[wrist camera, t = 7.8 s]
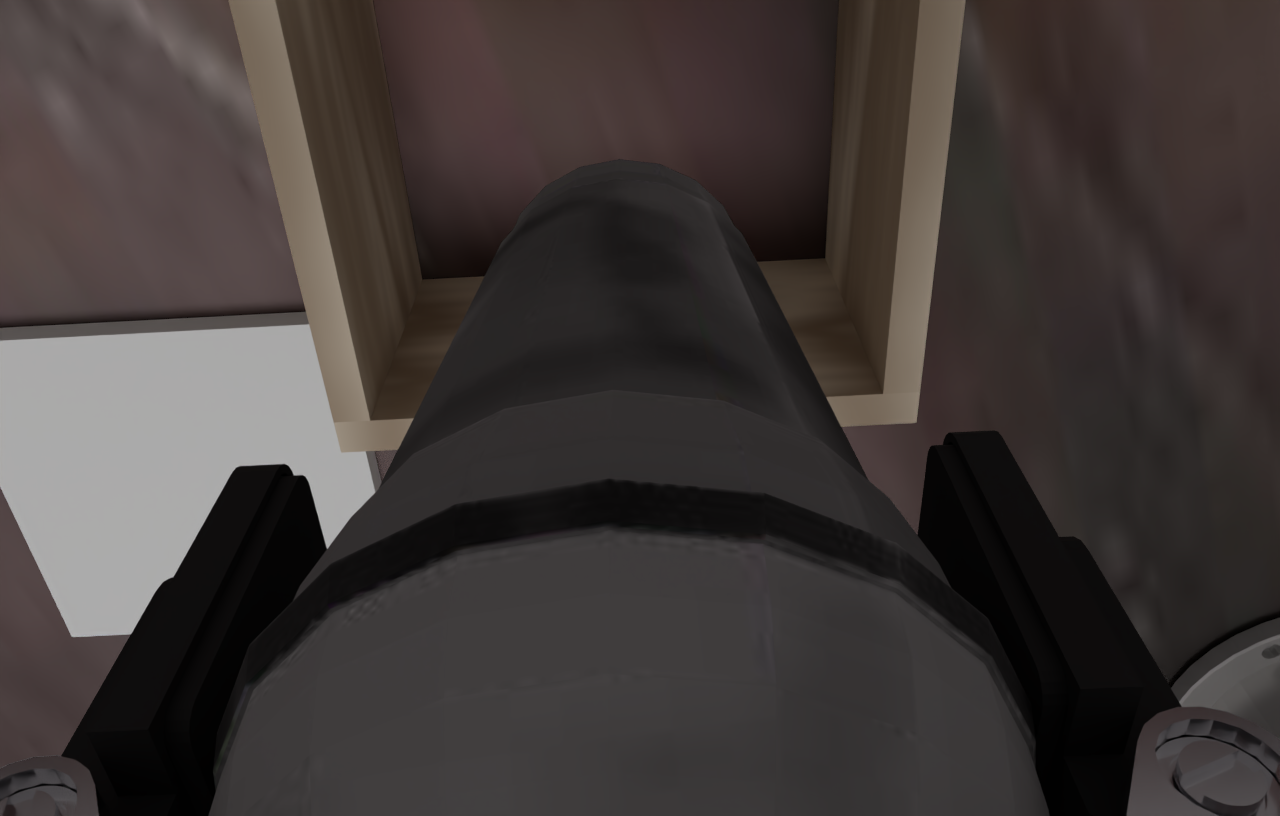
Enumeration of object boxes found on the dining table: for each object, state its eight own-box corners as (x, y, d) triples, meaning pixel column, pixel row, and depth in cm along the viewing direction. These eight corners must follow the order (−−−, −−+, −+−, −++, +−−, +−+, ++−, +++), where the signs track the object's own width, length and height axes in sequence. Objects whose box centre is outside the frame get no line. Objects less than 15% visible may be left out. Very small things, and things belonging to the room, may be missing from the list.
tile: (342, 309, 36) (335, 322, 35) (408, 603, 43) (405, 620, 43) (-52, 330, 36) (-68, 344, 35) (82, 620, 44) (72, 637, 43)
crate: (890, -260, 27) (997, -270, 20) (852, 282, 36) (916, 422, 28) (294, -227, 27) (172, -223, 20) (398, 307, 36) (341, 452, 28)
